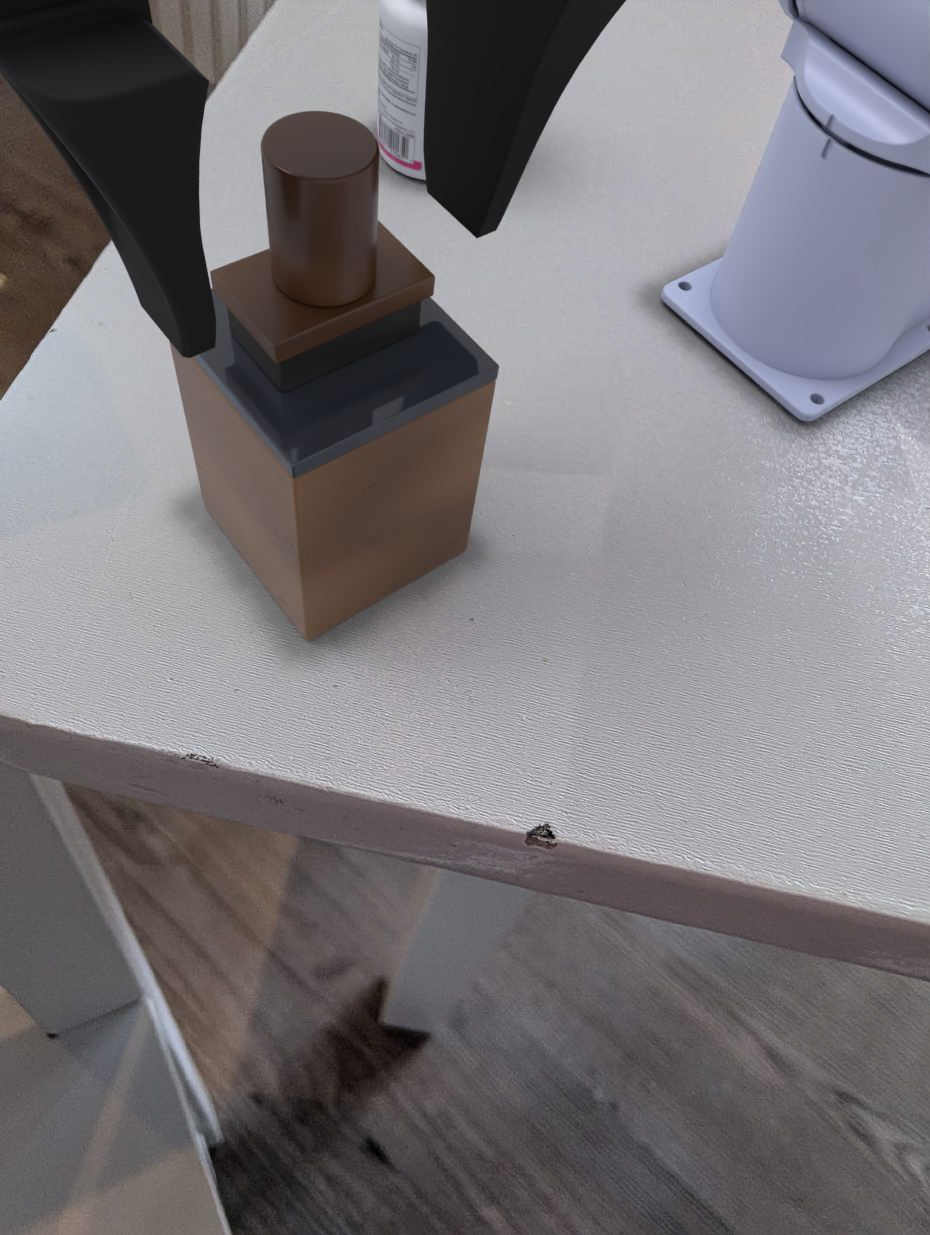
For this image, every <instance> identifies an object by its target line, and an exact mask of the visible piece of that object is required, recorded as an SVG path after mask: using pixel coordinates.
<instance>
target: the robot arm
mask: <svg viewBox="0 0 930 1235" xmlns="http://www.w3.org/2000/svg"><path fill="white" fill-rule="evenodd" d="M626 2H627V0H426V12H427V33H428V37H427V71H426V91H425V112H424V138H423V152H424V167H425V176H426V180H425V184H426V192H427V194H428V195H429V196H430V197H431V198H433V200H435V201H436V202H437V203H438V204H439V205H440V206H441V207H442V208H443V209H445V210H446V211H447V213H449V215H451V216H452V217H453V218H454V219H455V220H456V221H457V222H458V223H459V224H460V225H461V226H463V227H464V228H465V229H466V230H467V231H468V232H469V233H470V234H471V235H472V236H473V237H474V238H475V239H480V238H482V237H484V236H487V235H489V234H491V233H494V232H496V231H497V230H498V228H499V226H500V224H501V222H502V220H503V218H504V216H505V213H506V212H507V209H508V208H509V205H510V203H511V201H512V199H513V196H514V194H515V192H516V190H517V187H518V186H519V184H520V181H521V178H522V177H523V175H524V172H525V170H526V168H527V165H528V163H529V161H530V159H531V156H532V154H533V153H534V150H535V148H536V145H537V144H538V142H539V140H540V138H541V136H542V134H543V132H544V129H545V128H546V126H547V123H548V121H549V120H550V117H551V116H552V114H553V112H554V110H555V108H556V107H557V104H558V102H559V100H560V99H561V97H562V96H563V93H564V92H565V90H566V88H567V86H568V85H569V83H570V81H571V80H572V78H573V76H574V74H575V73H576V71H577V69H578V68H579V66H580V65H581V63H582V61H583V60H584V59H585V58H586V56H587V54H588V53H589V51H591V48H592V47H593V46H594V44H596V41H597V40H598V39H599V37H600V35H601V34H602V33H603V31H604V30H605V29H606V27H607V25H609V23H610V21H612V19H613V18H614V17H615V15H616V14H617V13H618V11H620V9H621V8H622V7H623V6H624V4H625V3H626ZM778 4H779V6H780V7H781V9H782V11H783V13H784V14H785V15H786V16H787V17H788V18H789V19H790V20H791V21H792V24H791V27H790V30H789V32H788V35H787V37H786V40H785V43H784V45H783V48H782V50H781V53H780V57H781V60H783V61H784V62H785V63H786V64H788V66H789V67H790V68H791V69H792V71H793V73H794V75H793V77H792V80H791V83H790V84H789V88H788V90H787V93H786V95H785V98H784V101H783V102H782V106H781V108H780V110H779V113H778V116H777V118H776V122H775V123H774V126H773V129H772V131H771V133H770V136H769V139H768V141H767V144H766V146H765V149H764V151H763V154H762V156H761V159H760V162H759V164H758V165H757V166H758V167H757V169H756V172H755V174H754V177H753V179H752V182H751V184H750V187H749V190H748V192H747V195H746V197H745V200H744V202H743V205H742V206H741V210H740V212H739V215H738V217H737V220H736V223H735V225H734V228H733V230H732V233H731V235H730V238H729V240H728V243H727V245H726V248H725V251H724V254H723V256H722V257H720V258H717V259H715V260H713V261H712V262H709V263H708V264H705V265H703V266H701V267H699V268H697V269H695V270H693V271H691V272H689V273H686V274H685V275H683V276H681V277H678V278H676V279H674V280H673V281H670V282H668V283H666V284H665V285H664V286H663V289H662V291H661V294H660V298H661V300H662V301H663V303H664V304H666V305H667V306H668V307H669V308H670V309H671V310H672V311H673V312H675V313H676V314H677V315H678V316H679V317H680V318H682V320H684V322H686V323H687V324H688V325H690V326H691V327H692V328H693V329H694V330H695V331H696V332H698V333H699V334H700V335H702V337H703V338H704V339H705V340H706V341H707V342H709V343H710V344H711V345H713V346H714V348H716V350H718V351H719V352H721V354H723V355H724V356H725V357H726V358H727V359H728V360H730V361H731V362H732V363H733V364H734V365H735V366H737V368H739V369H740V370H741V371H742V372H744V374H746V375H747V376H748V377H749V378H750V379H751V380H752V381H754V382H755V383H756V384H757V385H758V386H760V387H761V388H762V389H763V390H764V391H765V392H767V394H769V395H770V396H771V397H772V398H773V399H774V400H775V401H777V402H778V403H779V404H780V405H781V406H782V407H783V408H785V409H786V410H787V411H788V412H789V413H790V414H792V416H794V417H795V418H797V419H798V420H799V421H802V422H814V421H816V420H817V419H819V418H820V417H822V416H824V415H825V414H827V413H829V412H830V411H832V410H834V409H835V408H837V407H838V406H840V405H842V404H844V403H845V402H846V401H848V400H850V399H851V398H853V397H855V396H856V395H858V394H860V393H861V392H863V391H864V390H866V389H868V388H869V387H871V386H873V385H874V384H876V383H877V382H879V381H881V380H882V379H884V378H886V377H887V376H889V375H890V374H892V373H894V372H895V371H897V370H899V369H901V368H902V367H903V366H905V365H907V364H909V363H910V362H912V361H913V360H915V359H917V358H918V357H920V356H921V355H923V354H924V353H925V354H926V352H928V351H930V0H778ZM0 75H1V76H2V77H3V78H4V79H5V82H7V84H8V85H9V86H10V87H11V89H12V90H13V92H14V93H15V94H16V96H17V97H18V99H19V100H20V101H21V102H22V104H23V105H24V107H26V109H27V111H28V112H29V113H30V114H31V116H32V117H33V118H34V120H35V121H36V123H37V124H38V125H39V126H40V128H41V129H42V130H43V132H44V134H45V135H46V136H47V138H48V139H49V141H50V142H51V144H52V145H53V146H54V148H55V149H56V151H57V152H58V154H59V155H60V157H61V158H62V160H63V161H64V162H65V164H66V165H67V167H68V168H69V170H70V172H71V173H72V175H73V176H74V178H75V180H76V181H77V183H78V184H79V186H80V187H81V189H82V191H83V192H84V194H85V195H86V197H87V198H88V200H89V202H90V204H91V205H92V207H93V209H94V210H95V212H96V214H97V216H98V218H99V219H100V221H101V223H102V225H103V227H104V228H105V230H106V232H107V234H108V235H109V238H110V239H111V242H112V243H113V245H114V247H115V249H116V251H117V253H118V255H119V257H120V259H121V261H122V263H123V266H124V268H125V271H126V272H127V274H128V277H129V279H130V282H131V284H132V286H133V289H134V291H135V294H136V296H137V299H138V302H139V304H140V307H141V308H142V309H143V311H145V313H146V314H147V315H148V316H149V318H150V319H151V320H152V321H153V323H154V324H155V325H156V326H157V328H158V329H159V330H160V331H161V333H162V334H163V335H164V336H165V338H166V339H167V340H168V342H169V341H170V342H171V343H172V345H173V346H174V347H175V348H176V349H177V351H178V352H179V353H180V354H181V356H182V357H186V358H192V357H194V356H196V355H199V354H201V353H204V352H206V351H208V350H211V349H213V348H215V343H216V314H215V308H214V303H213V297H212V291H211V289H212V285H211V282H210V281H211V280H210V277H209V276H210V275H209V272H208V271H209V270H208V266H207V261H206V255H205V251H204V244H203V237H202V229H201V208H200V207H201V205H200V202H201V201H200V164H201V162H200V160H201V149H202V148H201V147H202V130H203V122H204V116H205V108H206V102H207V96H208V90H209V86H210V80H209V79H208V78H207V77H206V76H205V75H204V73H202V72H201V71H200V70H199V69H198V68H197V67H196V66H195V65H194V64H193V63H192V62H191V61H190V60H189V59H188V58H187V57H186V56H185V55H184V54H183V53H182V52H181V51H180V50H179V49H178V48H177V47H176V46H175V44H173V43H172V42H171V40H169V39H168V38H167V37H166V36H165V35H164V34H163V33H162V32H161V31H160V30H159V29H158V28H157V27H156V26H155V25H154V23H153V19H152V12H151V5H150V1H149V0H0ZM170 342H169V343H170Z"/></svg>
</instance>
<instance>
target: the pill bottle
mask: <svg viewBox="0 0 930 1235" xmlns="http://www.w3.org/2000/svg"><path fill="white" fill-rule="evenodd" d="M378 23H379V25H378V67H377V72H378V73H377V74H378V75H377V115H376V116H377V117H376V119H377V120H376V140H377V142H378V145H379V150H380V156H381V157H382V158H383V160H384V161H385V162H386V163H387V164H388V165H389V166H390V167H391V168H392V169H394V170H396V171H397V172H399V173H400V174H403V175H405V176H408V177H411V178H413V179H418V180H423V181H426V176H425V167H424V152H423V138H424V112H425V91H426V71H427V37H428V33H427V12H426V0H379V21H378Z"/></svg>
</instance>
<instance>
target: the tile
mask: <svg viewBox="0 0 930 1235" xmlns="http://www.w3.org/2000/svg"><path fill="white" fill-rule="evenodd" d="M211 291H212V297H213V303H214V308H215V314H216V343H215V348H213V349H211V350H208V351H206V352H204V353H201V354H199V355H196V356H194V359H195V360H196V361H197V362H198V363H199V365H200V366H201V367H202V368H203V370H204V371H205V372H206V373H207V374H208V376H209V377H210V378H211V379H212V381H213V382H214V383H215V384H216V385H217V387H218V388H219V389H220V390H221V391H222V393H223V394H224V395H225V396H226V398H227V399H228V400H229V401H230V402H231V404H232V405H233V406H234V407H235V409H236V410H237V411H238V412H239V413H240V415H241V416H242V417H243V418H244V419H245V421H246V422H247V423H248V424H249V426H250V427H251V428H252V429H253V430H254V432H255V433H256V434H257V435H258V437H259V438H260V439H261V440H262V441H263V443H264V444H265V445H266V446H267V448H268V449H269V450H270V451H271V452H272V454H273V455H274V456H275V457H276V458H277V460H278V461H279V462H280V463H281V465H282V466H283V467H284V468H285V469H286V471H287V472H288V473H289V474H290V476H291V477H292V478H293V479H296V478H298V477H300V476H302V475H304V474H306V473H308V472H310V471H312V470H314V469H316V468H318V467H320V466H322V465H324V464H326V463H328V462H330V461H332V460H334V459H336V458H338V457H340V456H342V455H344V454H346V453H348V452H350V451H352V450H354V449H356V448H359V447H361V446H363V445H365V444H367V443H369V442H371V441H373V440H375V439H377V438H379V437H381V436H383V435H385V434H387V433H389V432H391V431H393V430H395V429H397V428H399V427H401V426H403V425H405V424H407V423H409V422H411V421H413V420H415V419H417V418H419V417H421V416H423V415H425V414H427V413H430V412H432V411H434V410H436V409H438V408H440V407H442V406H444V405H446V404H448V403H450V402H452V401H454V400H456V399H458V398H460V397H462V396H464V395H466V394H468V393H470V392H472V391H474V390H476V389H478V388H480V387H482V386H484V385H486V384H488V383H490V382H492V381H494V380H495V381H496V380H497V379H498V376H499V371H500V365H499V363H498V362H497V361H496V360H495V359H493V358H492V357H491V355H490V354H488V352H486V351H485V350H484V349H483V348H482V347H481V345H480V344H478V343H477V341H475V340H474V338H473V337H471V336H470V334H469V333H467V331H466V330H464V328H462V326H460V325H459V324H458V323H457V321H455V320H454V319H453V318H452V316H451V315H449V314H448V313H447V311H446V310H444V309H443V308H442V307H441V306H440V305H439V304H438V303H437V302H436V301H435V300H434V299H433V298H432V296H431V297H428V298H426V299H424V300H422V301H421V312H420V325H419V331H418V332H417V333H415V334H413V335H411V336H408V337H406V338H404V339H402V340H400V341H397V342H395V343H393V344H391V345H389V346H386V347H384V348H382V349H380V350H377V351H375V352H373V353H371V354H369V355H366V356H364V357H362V358H360V359H358V360H355V361H353V362H351V363H349V364H346V365H344V366H342V367H340V368H338V369H335V370H333V371H331V372H329V373H327V374H324V375H322V376H320V377H318V378H315V379H313V380H311V381H309V382H307V383H304V384H302V385H300V386H298V387H296V388H293V389H291V390H289V391H287V392H285V393H282V392H281V391H280V390H279V389H278V387H277V386H276V385H275V384H274V383H273V382H272V380H271V379H270V378H269V377H268V376H267V375H266V373H265V372H264V371H263V370H262V369H261V368H260V366H259V365H258V364H257V363H256V362H255V361H254V359H253V358H252V357H251V356H250V355H249V354H248V352H247V351H246V350H245V349H244V348H243V347H242V346H241V344H240V343H239V342H238V341H237V340H236V339H235V337H234V336H233V335H232V334H231V333H230V326H229V319H228V312H227V307H226V305H225V304H224V303H223V302H222V301H221V300H220V299H219V297H218V296H217V295H216V294H215V293H214V292H213V288H212V287H211Z"/></svg>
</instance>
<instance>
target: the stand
mask: <svg viewBox="0 0 930 1235" xmlns="http://www.w3.org/2000/svg"><path fill="white" fill-rule="evenodd" d="M168 342H169V347H170V352H171V356H172V362H173V366H174V370H175V374H176V379H177V384H178V389H179V393H180V399H181V403H182V407H183V412H184V417H185V421H186V422H185V423H186V427H187V432H188V436H189V441H190V444H191V445H190V446H191V450H192V455H193V459H194V464H195V468H196V469H195V470H196V474H197V478H198V479H197V480H198V483H199V488H200V493H201V498H202V502H203V507H204V509H205V510H206V511H207V512H208V515H209V516H210V517H211V518H212V519H213V520H214V522H215V523H216V525H217V526H218V527H219V529H220V530H221V531H222V532H223V534H224V535H225V536H226V537H227V539H228V540H229V541H230V543H231V544H232V545H233V547H234V548H235V549H236V551H237V552H238V553H239V555H240V556H241V558H243V560H244V561H245V563H246V564H247V565H248V567H249V568H250V569H251V570H252V572H253V573H254V575H255V576H256V578H258V580H259V581H260V582H261V583H262V585H263V586H264V588H265V589H266V591H267V592H268V593H269V594H270V596H271V597H272V598H273V600H274V601H275V602H276V604H277V605H278V606H279V608H280V609H281V610H282V611H283V613H284V614H285V616H286V617H287V618H288V619H289V621H290V623H291V624H292V625H293V626H294V627H295V629H296V630H297V631H298V633H299V634H300V635H301V637H302V638H303V640H305V641H306V642H308V641H311V640H313V639H314V638H316V637H318V636H320V635H321V634H323V633H324V632H326V631H328V630H330V629H332V628H333V627H335V626H337V625H339V624H341V623H342V622H344V621H346V620H347V619H349V618H351V617H353V616H354V615H356V614H358V613H360V612H361V611H363V610H365V609H366V608H368V607H370V606H372V605H374V604H375V603H377V602H379V601H380V600H383V599H384V598H386V597H387V596H389V595H392V594H393V593H394V592H397V591H398V590H400V589H402V588H404V587H405V586H407V585H409V584H410V583H413V582H414V581H416V580H417V579H419V578H421V577H423V576H424V575H426V574H428V573H430V572H432V571H433V570H435V569H436V568H438V567H440V566H442V565H444V564H445V563H447V562H449V561H450V560H452V559H454V558H456V557H457V556H459V555H461V554H464V553H465V552H466V551H467V549H468V544H469V537H470V531H471V526H472V521H473V515H474V510H475V504H476V497H477V492H478V488H479V487H478V486H479V480H480V475H481V470H482V465H483V464H482V463H483V459H484V458H483V457H484V452H485V447H486V441H487V435H488V429H489V424H490V419H491V412H492V407H493V401H494V396H495V391H496V384H497V381H496V380H494V381H492V382H490V383H488V384H486V385H484V386H482V387H480V388H478V389H476V390H474V391H472V392H470V393H468V394H466V395H464V396H462V397H460V398H458V399H456V400H454V401H452V402H450V403H448V404H446V405H444V406H442V407H440V408H438V409H436V410H434V411H432V412H430V413H427V414H425V415H423V416H421V417H419V418H417V419H415V420H413V421H411V422H409V423H407V424H405V425H403V426H401V427H399V428H397V429H395V430H393V431H391V432H389V433H387V434H385V435H383V436H381V437H379V438H377V439H375V440H373V441H371V442H369V443H367V444H365V445H363V446H361V447H359V448H356V449H354V450H352V451H350V452H348V453H346V454H344V455H342V456H340V457H338V458H336V459H334V460H332V461H330V462H328V463H326V464H324V465H322V466H320V467H318V468H316V469H314V470H312V471H310V472H308V473H306V474H304V475H302V476H300V477H298V478H296V479H293V478H292V477H291V476H290V474H289V473H288V472H287V471H286V469H285V468H284V467H283V466H282V465H281V463H280V462H279V461H278V460H277V458H276V457H275V456H274V455H273V454H272V452H271V451H270V450H269V449H268V448H267V446H266V445H265V444H264V443H263V441H262V440H261V439H260V438H259V437H258V435H257V434H256V433H255V432H254V430H253V429H252V428H251V427H250V426H249V424H248V423H247V422H246V421H245V419H244V418H243V417H242V416H241V415H240V413H239V412H238V411H237V410H236V409H235V407H234V406H233V405H232V404H231V402H230V401H229V400H228V399H227V398H226V396H225V395H224V394H223V393H222V391H221V390H220V389H219V388H218V387H217V385H216V384H215V383H214V382H213V381H212V379H211V378H210V377H209V376H208V374H207V373H206V372H205V371H204V370H203V368H202V367H201V366H200V365H199V363H198V362H197V361H196V360H195V359H194V357H192V358H186V357H182V356H181V354H180V353H179V352H178V351H177V349H176V348H175V347H174V346H173V345H172V343H171V342H170V341H169V340H168Z"/></svg>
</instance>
